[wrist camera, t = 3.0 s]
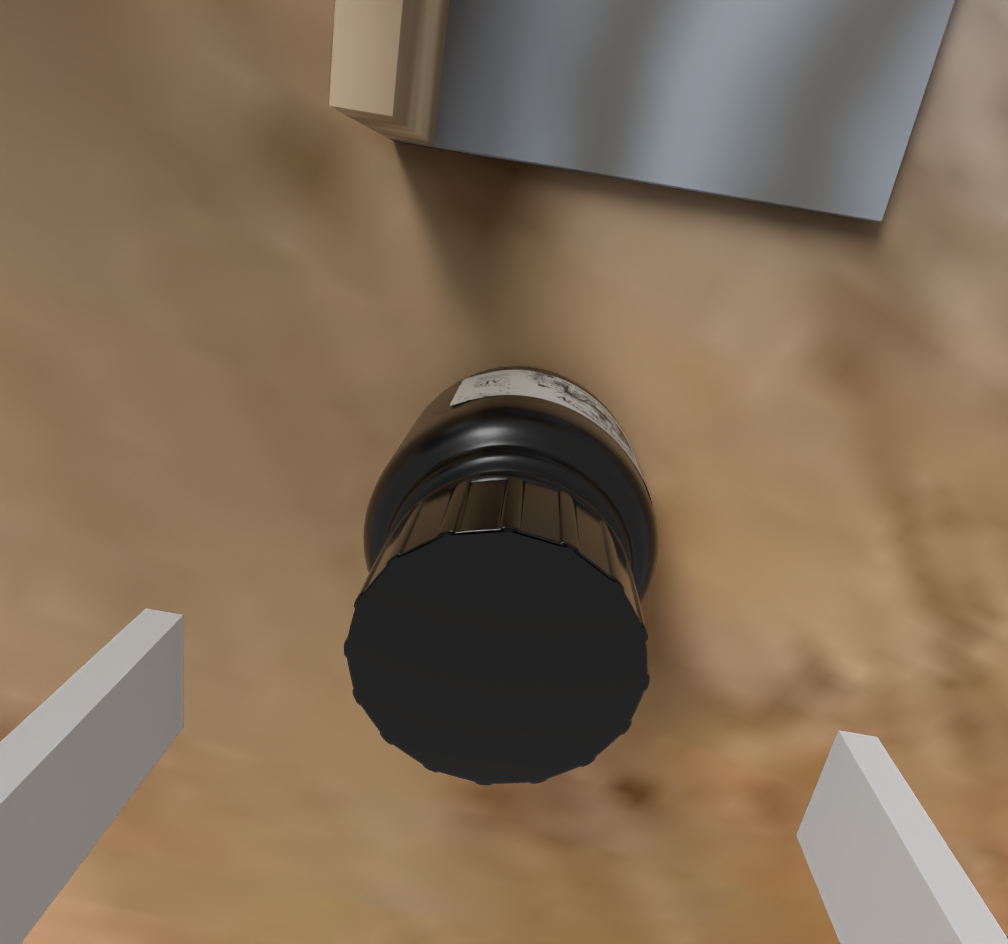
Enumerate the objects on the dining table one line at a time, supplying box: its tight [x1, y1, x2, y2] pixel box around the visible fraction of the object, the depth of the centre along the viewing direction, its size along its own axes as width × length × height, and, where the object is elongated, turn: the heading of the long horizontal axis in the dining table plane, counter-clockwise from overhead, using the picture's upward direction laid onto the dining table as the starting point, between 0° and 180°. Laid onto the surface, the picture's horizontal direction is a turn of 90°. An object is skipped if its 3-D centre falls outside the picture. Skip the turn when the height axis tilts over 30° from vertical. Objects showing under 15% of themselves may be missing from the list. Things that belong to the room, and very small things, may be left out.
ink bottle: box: [344, 366, 658, 785], centre depth 21 cm, size 10×9×12 cm
